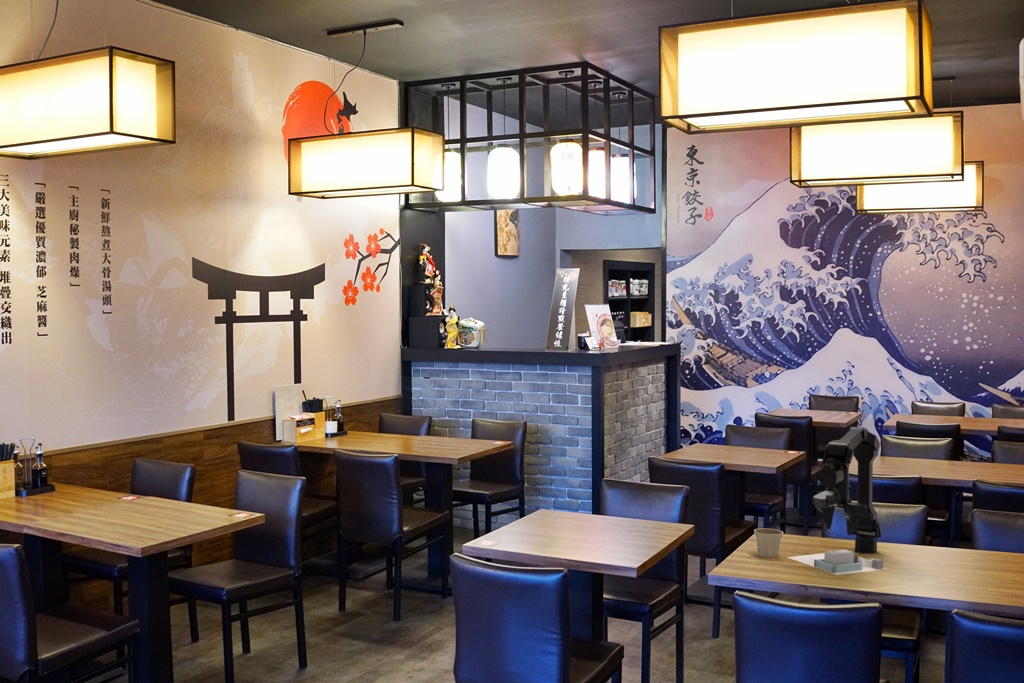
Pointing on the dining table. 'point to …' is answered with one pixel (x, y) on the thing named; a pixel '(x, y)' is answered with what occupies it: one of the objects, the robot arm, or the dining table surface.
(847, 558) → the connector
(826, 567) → the holder
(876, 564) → the grey blocky piece
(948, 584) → the dining table surface
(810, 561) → the board
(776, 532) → the flower pot
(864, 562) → the clips
